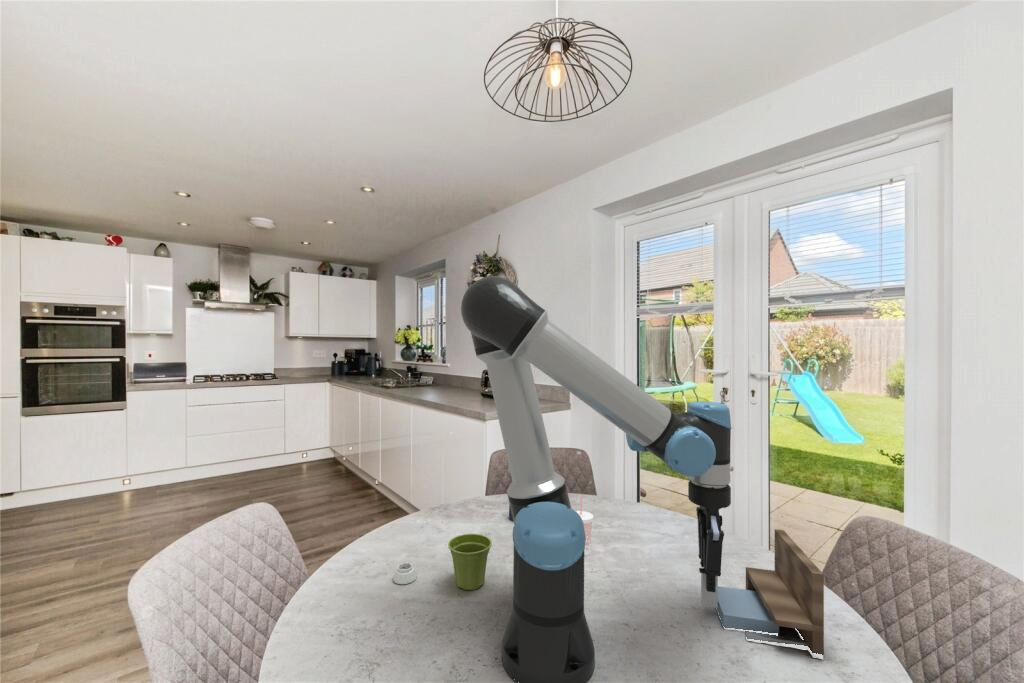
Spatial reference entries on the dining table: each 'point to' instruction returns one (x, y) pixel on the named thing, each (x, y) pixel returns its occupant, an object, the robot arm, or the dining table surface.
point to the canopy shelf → (791, 594)
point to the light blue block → (744, 610)
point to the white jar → (404, 574)
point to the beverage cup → (586, 526)
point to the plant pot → (469, 559)
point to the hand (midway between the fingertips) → (709, 604)
